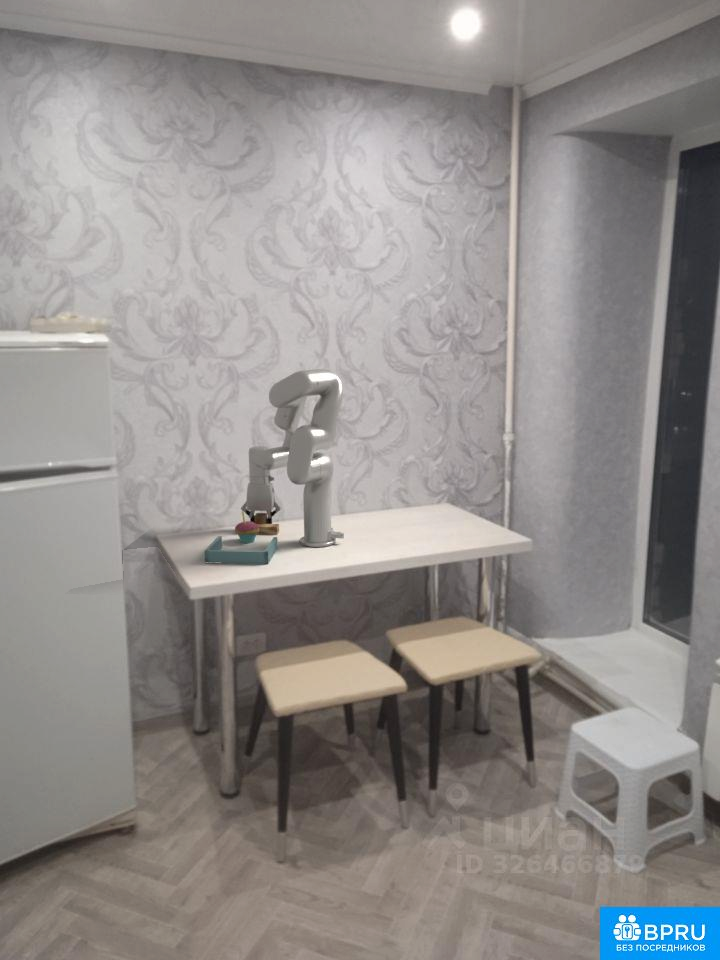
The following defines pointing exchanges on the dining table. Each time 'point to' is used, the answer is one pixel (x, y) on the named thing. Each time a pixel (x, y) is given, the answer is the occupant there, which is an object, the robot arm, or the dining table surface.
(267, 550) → the tray
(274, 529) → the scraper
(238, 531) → the cupcake
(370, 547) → the dining table surface
